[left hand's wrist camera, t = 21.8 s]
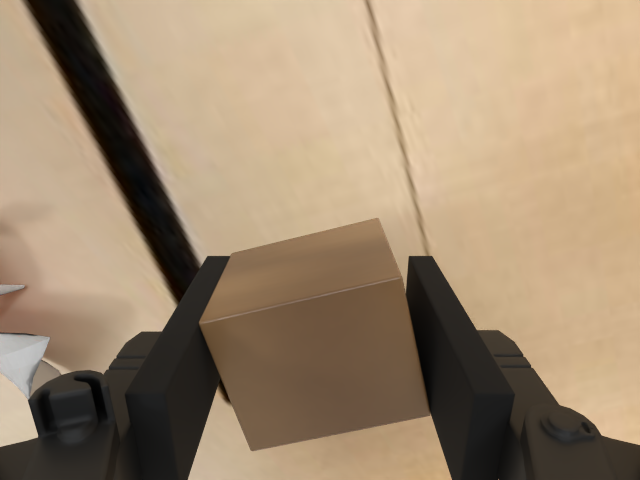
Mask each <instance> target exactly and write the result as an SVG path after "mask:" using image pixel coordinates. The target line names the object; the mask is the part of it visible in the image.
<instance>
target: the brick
mask: <svg viewBox="0 0 640 480" xmlns="http://www.w3.org/2000/svg"><path fill="white" fill-rule="evenodd" d="M199 326H200V329H201V331H202V333H203V336H204V338H205V341H206V343H207V346H208V348H209V350H210V353H211V355H212V358H213V360H214V362H215V365H216V367H217V370H218V372H219V375H220V377H221V379H222V382H223V384H224V387H225V389H226V392H227V394H228V396H229V399H230V401H231V404H232V406H233V408H234V411H235V413H236V416H237V418H238V421H239V423H240V425H241V428H242V430H243V433H244V435H245V438H246V440H247V442H248V445H249V447H250V450H251V451H256V450H261V449H266V448H271V447H276V446H281V445H286V444H291V443H296V442H301V441H306V440H311V439H316V438H321V437H326V436H331V435H336V434H341V433H346V432H351V431H356V430H361V429H366V428H371V427H376V426H381V425H386V424H391V423H396V422H401V421H406V420H411V419H416V418H421V417H426V416H430V414H431V413H430V407H429V402H428V397H427V392H426V388H425V383H424V378H423V374H422V369H421V364H420V359H419V355H418V350H417V345H416V340H415V336H414V331H413V326H412V321H411V317H410V312H409V307H408V303H407V298H406V293H405V288H404V284H403V279H402V276H401V273H400V271H399V268H398V266H397V263H396V261H395V258H394V256H393V253H392V251H391V248H390V246H389V243H388V241H387V238H386V236H385V233H384V231H383V228H382V226H381V223H380V221H379V219H378V218H375V219H371V220H367V221H363V222H359V223H355V224H351V225H346V226H342V227H338V228H334V229H330V230H326V231H322V232H318V233H313V234H309V235H305V236H301V237H297V238H293V239H289V240H285V241H281V242H276V243H272V244H268V245H264V246H260V247H256V248H252V249H248V250H244V251H239V252H235V253H232V254H231V256H230V258H229V260H228V263H227V265H226V267H225V269H224V271H223V273H222V275H221V277H220V279H219V281H218V283H217V285H216V288H215V290H214V292H213V294H212V296H211V298H210V300H209V302H208V304H207V306H206V308H205V310H204V313H203V315H202V317H201V319H200V321H199Z"/></svg>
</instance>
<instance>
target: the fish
mask: <svg viewBox="0 0 640 480" xmlns="http://www.w3.org/2000/svg"><path fill="white" fill-rule="evenodd" d="M23 288H24V285H1V284H0V295H3V294H6V293H9V292H13V291H16V290H20V289H23ZM49 339H50V337H45V336H39V335H32V334H23V333H0V373H1V374H3V375H4V376H5V377H7V378H8V379H9V380H10V381H12V382H13V383H14V384H15V385H16V386H17V387H18V388H19V389H20V390H21V392H22V393H23V394H24V395H25V396H26V397H27V399H28V400H29V398H30V397H31V396H32V394H33V393H34V392H35V390H37V389H38V388H39V387H41V386H42V385H43V384H45V383H46V382H48V381H50V380H52V379H54V378H56V377H58V376H60V375H61V374H60V372H59V370H57V369H56V368H54V367H53V366H51V365H50V364H48V363H47V362H45V361H43V360H42V357H43V355H44V352H45V349H46V347H47V344H48V342H49Z"/></svg>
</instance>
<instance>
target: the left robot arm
mask: <svg viewBox="0 0 640 480" xmlns="http://www.w3.org/2000/svg"><path fill="white" fill-rule="evenodd" d="M229 258H230V256H207V258H206V260H205V261H204V263H203V265H202V266H201V268H200V269H199V271H198V273H197V274H196V276H195V278H194V279H193V281H192V283H191V284H190V286H189V288H188V289H187V291H186V293H185V294H184V296H183V298H182V299H181V301H180V303H179V304H178V306H177V308H176V309H175V311H174V313H173V314H172V316H171V318H170V319H169V321H168V323H167V324H166V326H165V328H164V329H163V331H162V332H141V333H139V334H138V335H136V336H135V337H134V338H132V339H131V340H129V341H128V342H127V343H126V344H125V345H124V346H123V348H122V349H121V351H120V352H119V353H118V355H117V358H116V359H114V360H113V362H112V363H111V365H110V366H109V370H106V372H105V373H104V375H103V374H102V373H100V372H96V371H91V370H85V371H75V372H71V373H67V374H63V375H60V376H58V377H56V378H54V379H52V380H50V381H48V382H46V383H45V384H43V385H42V386H41V387H39V388H38V389H37V390H35V392H34V393H33V394H32V396H31V397H30V398H29V400H28V402H29V406H30V409H31V412H32V416H33V419H34V422H35V426H36V429H37V432H38V438H35V439H32V440H28V441H24V442H20V443H16V444H11V445H7V446H3V447H0V480H188V477H189V474H190V470H191V467H192V464H193V461H194V458H195V455H196V452H197V449H198V446H199V443H200V439H201V436H202V433H203V430H204V427H205V424H206V421H207V418H208V415H209V412H210V408H211V405H212V402H213V399H214V396H215V393H216V390H217V387H218V384H219V381H220V375H219V372H218V370H217V367H216V365H215V362H214V360H213V358H212V355H211V353H210V350H209V348H208V346H207V343H206V341H205V338H204V336H203V333H202V331H201V329H200V326H199V321H200V319H201V317H202V315H203V313H204V310H205V308H206V306H207V304H208V302H209V300H210V298H211V296H212V294H213V292H214V290H215V288H216V285H217V283H218V281H219V279H220V277H221V275H222V273H223V271H224V269H225V267H226V265H227V263H228V260H229ZM406 298H407V303H408V307H409V312H410V317H411V321H412V326H413V331H414V336H415V340H416V345H417V350H418V355H419V359H420V364H421V369H422V374H423V378H424V383H425V388H426V392H427V397H428V402H429V407H430V413H431V416H432V419H433V422H434V425H435V428H436V431H437V434H438V437H439V440H440V444H441V447H442V450H443V453H444V456H445V459H446V462H447V465H448V468H449V471H450V475H451V478H452V480H498V478H499V480H640V445H636V444H632V443H628V442H624V441H619V440H615V439H611V438H608V437H604V436H602V435H601V434H600V432H599V431H598V429H597V428H596V426H595V425H594V424H593V423H592V422H591V421H589V420H588V419H587V418H586V417H585V416H583V415H582V414H580V413H578V412H576V411H574V410H572V409H570V408H567V407H564V406H560V405H559V404H558V402H557V401H556V400H555V398H554V397H553V395H552V394H551V393H550V391H549V390H548V388H547V387H546V386H545V384H544V383H543V381H542V380H541V379H540V377H539V376H538V374H537V373H536V372H535V370H534V369H533V368H531V365H530V363H529V362H528V360H527V359H526V358H525V357H523V353H522V352H521V351H520V349H519V348H518V346H517V345H516V344H515V342H514V341H513V340H511V339H510V338H508V337H507V336H505V335H504V334H503V333H501V332H500V331H498V330H476V328H475V326H474V325H473V323H472V322H471V320H470V318H469V317H468V315H467V313H466V312H465V310H464V308H463V307H462V305H461V303H460V302H459V300H458V298H457V297H456V295H455V293H454V292H453V290H452V288H451V287H450V285H449V283H448V282H447V280H446V278H445V277H444V275H443V273H442V272H441V270H440V268H439V267H438V265H437V263H436V262H435V260H434V258H433V257H432V256H409V261H408V274H407V287H406Z"/></svg>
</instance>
